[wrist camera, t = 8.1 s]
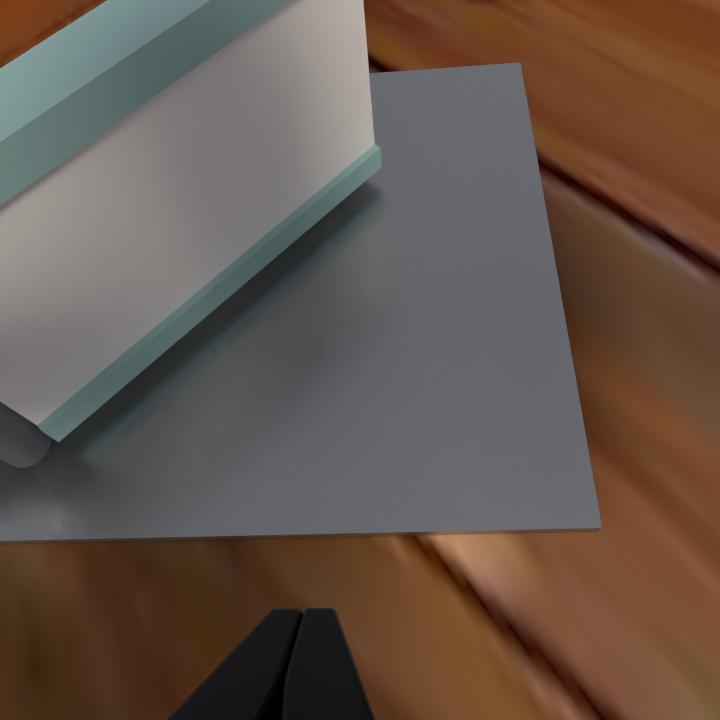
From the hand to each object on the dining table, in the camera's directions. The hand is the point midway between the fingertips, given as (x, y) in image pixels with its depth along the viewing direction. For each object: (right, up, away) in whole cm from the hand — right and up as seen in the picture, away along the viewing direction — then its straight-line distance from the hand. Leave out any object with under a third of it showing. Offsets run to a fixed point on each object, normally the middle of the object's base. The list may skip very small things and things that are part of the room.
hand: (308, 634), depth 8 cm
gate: (-5, +6, +14) cm, 16 cm away
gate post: (-4, +7, +16) cm, 18 cm away
